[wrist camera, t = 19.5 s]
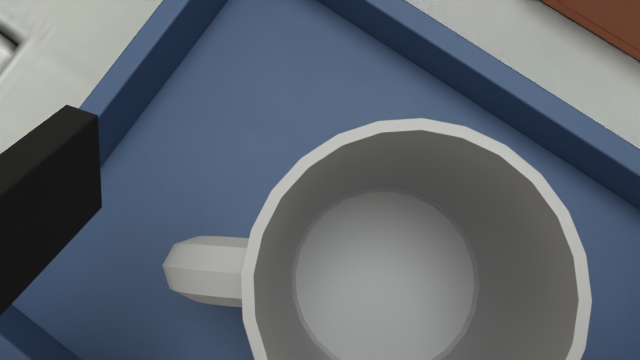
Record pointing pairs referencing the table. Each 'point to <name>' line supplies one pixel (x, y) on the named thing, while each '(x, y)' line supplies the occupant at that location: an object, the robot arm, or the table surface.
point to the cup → (401, 254)
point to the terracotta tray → (606, 20)
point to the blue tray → (284, 152)
